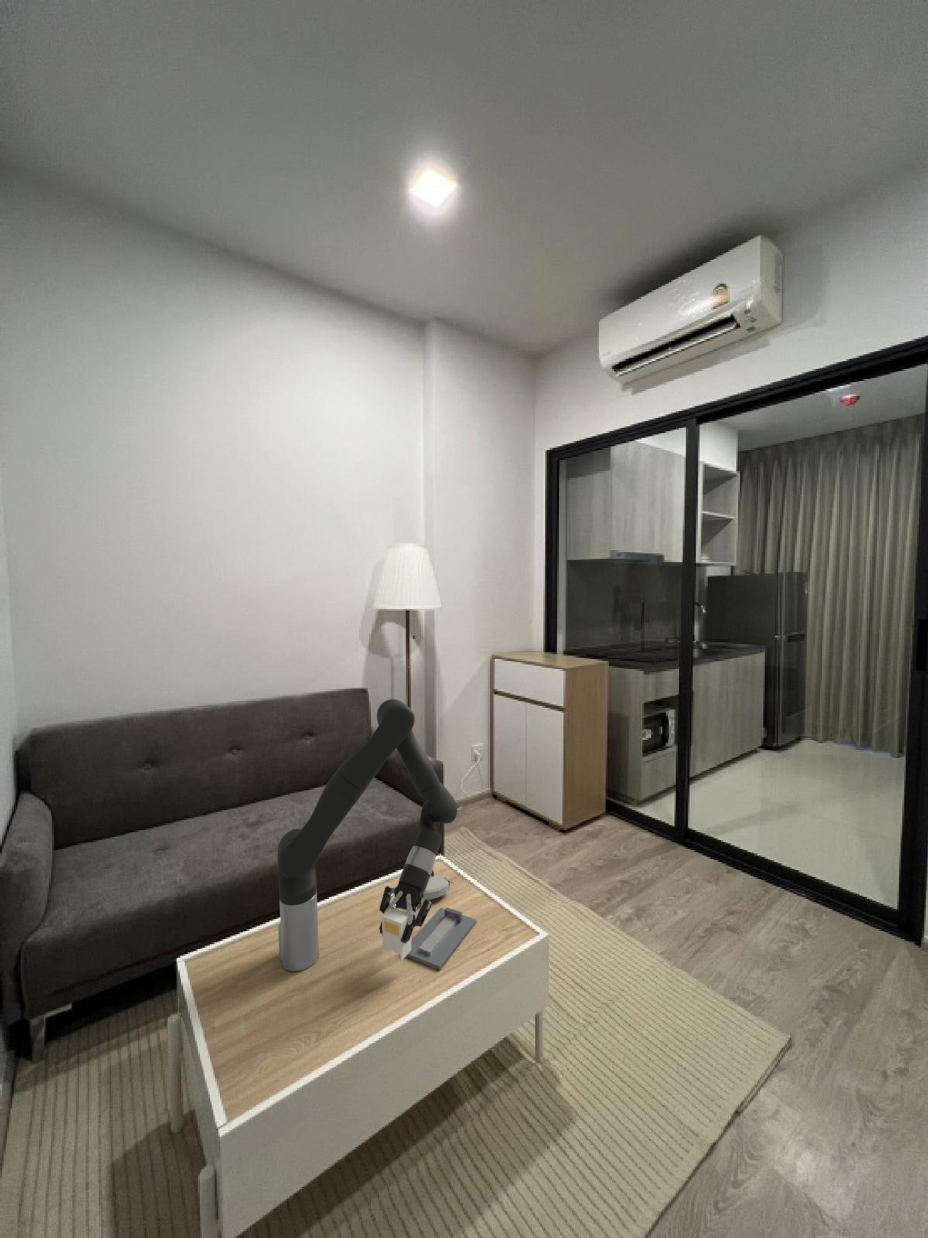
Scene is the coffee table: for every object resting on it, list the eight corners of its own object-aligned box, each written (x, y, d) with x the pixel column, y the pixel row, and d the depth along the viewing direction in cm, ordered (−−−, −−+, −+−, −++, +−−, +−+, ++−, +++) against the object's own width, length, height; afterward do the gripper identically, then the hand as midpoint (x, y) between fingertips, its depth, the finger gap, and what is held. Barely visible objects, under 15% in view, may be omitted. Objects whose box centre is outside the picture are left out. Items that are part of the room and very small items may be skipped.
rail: (416, 950, 127) (416, 941, 127) (447, 914, 142) (446, 906, 141) (433, 956, 125) (432, 947, 125) (462, 920, 139) (462, 912, 139)
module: (382, 952, 122) (381, 916, 122) (392, 942, 126) (391, 907, 126) (401, 960, 119) (400, 923, 119) (411, 949, 123) (410, 914, 123)
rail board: (401, 954, 127) (401, 951, 127) (440, 910, 145) (440, 907, 145) (440, 970, 122) (440, 966, 122) (476, 922, 139) (476, 919, 139)
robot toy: (400, 889, 158) (421, 909, 146) (399, 875, 158) (420, 894, 146) (433, 876, 165) (456, 895, 152) (432, 863, 165) (455, 880, 152)
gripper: (390, 857, 132) (362, 925, 122) (435, 870, 125) (410, 944, 115) (402, 866, 137) (376, 933, 127) (446, 879, 130) (422, 951, 120)
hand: (392, 937), depth 121 cm, fingers closed on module, 6 cm apart
